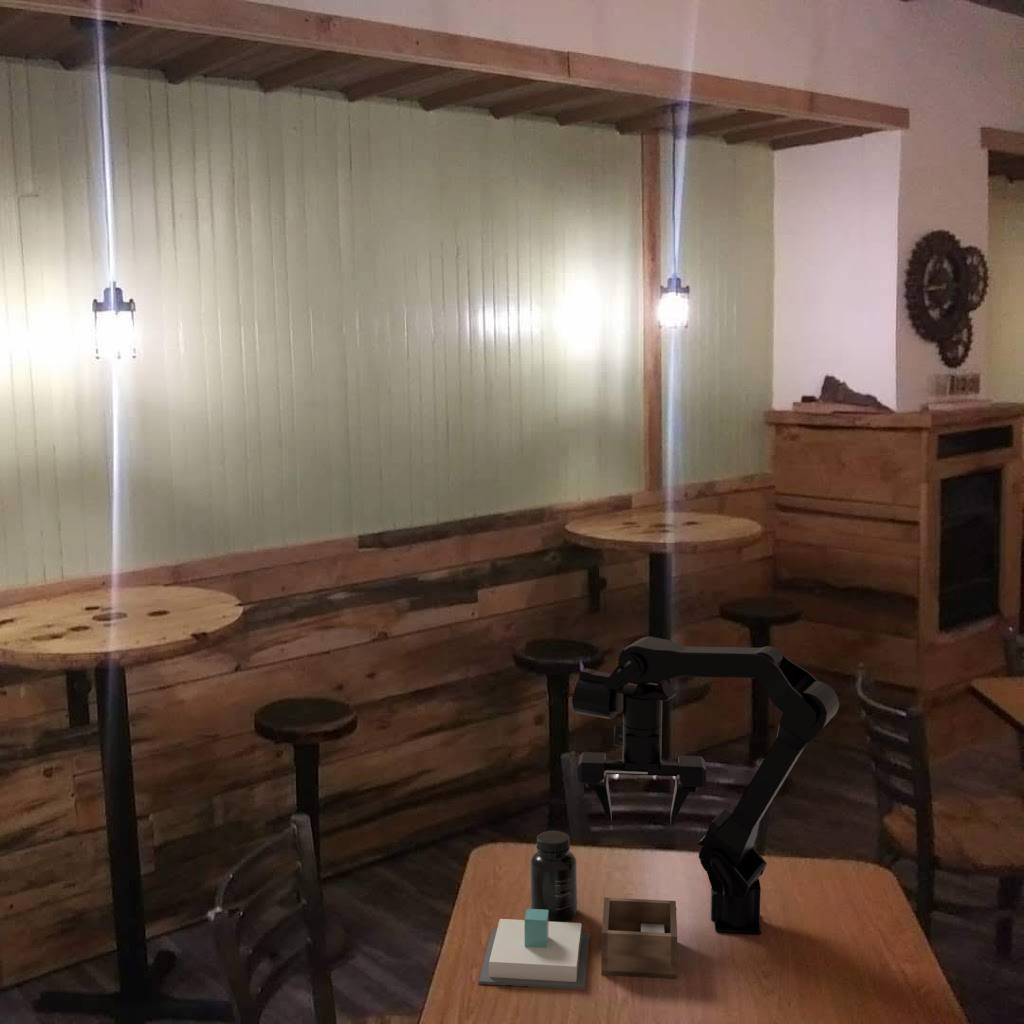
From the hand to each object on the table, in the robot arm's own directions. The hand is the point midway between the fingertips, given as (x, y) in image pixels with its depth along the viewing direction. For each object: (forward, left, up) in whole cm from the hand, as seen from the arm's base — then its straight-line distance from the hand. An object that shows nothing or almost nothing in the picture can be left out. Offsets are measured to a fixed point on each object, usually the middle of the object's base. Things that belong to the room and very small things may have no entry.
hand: (640, 823), depth 184 cm
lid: (+14, +19, -12) cm, 26 cm away
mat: (+14, +19, -12) cm, 26 cm away
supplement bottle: (+13, +6, -12) cm, 19 cm away
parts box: (0, +17, -12) cm, 21 cm away
